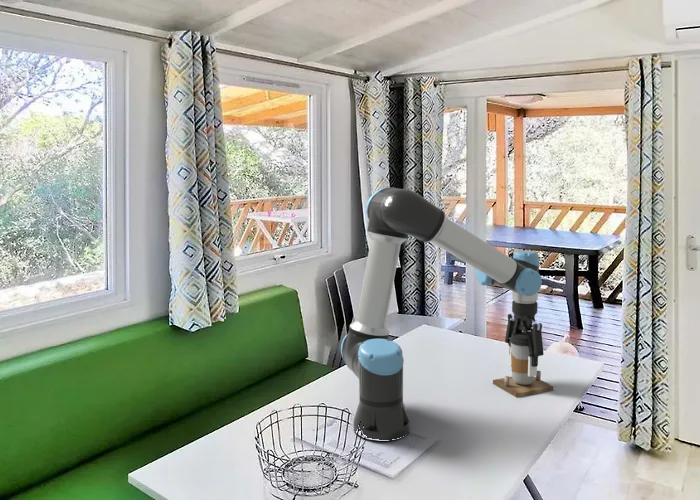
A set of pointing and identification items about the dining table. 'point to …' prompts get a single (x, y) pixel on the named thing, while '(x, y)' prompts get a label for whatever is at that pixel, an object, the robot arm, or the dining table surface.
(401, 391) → the robot arm
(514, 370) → the coffee cup
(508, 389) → the wooden board with pegs
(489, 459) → the dining table surface
